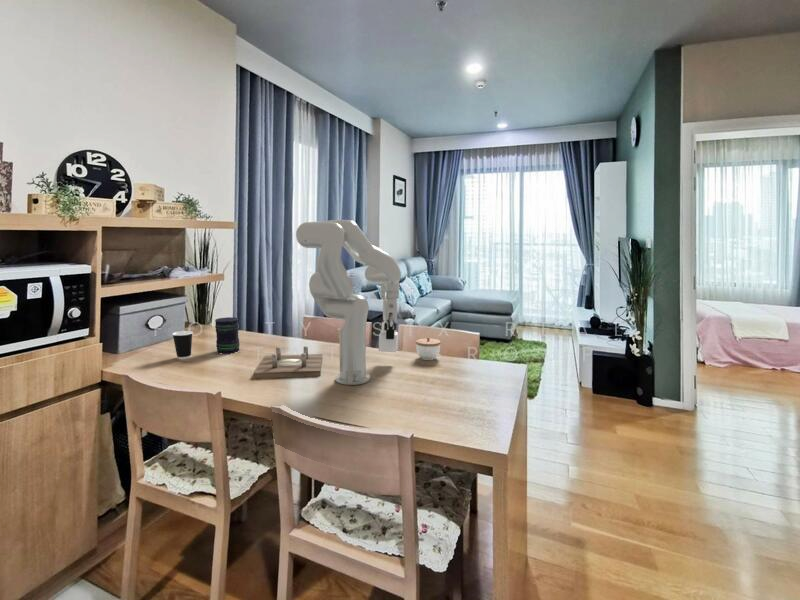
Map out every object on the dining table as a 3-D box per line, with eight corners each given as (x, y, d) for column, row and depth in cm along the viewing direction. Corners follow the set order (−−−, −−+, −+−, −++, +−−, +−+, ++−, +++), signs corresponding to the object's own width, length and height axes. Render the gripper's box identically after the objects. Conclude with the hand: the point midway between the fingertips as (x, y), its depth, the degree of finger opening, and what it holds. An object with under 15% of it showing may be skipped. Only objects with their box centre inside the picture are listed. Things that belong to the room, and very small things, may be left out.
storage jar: (217, 349, 196) (216, 317, 194) (240, 348, 199) (239, 316, 197) (215, 354, 187) (213, 321, 185) (239, 353, 189) (237, 320, 187)
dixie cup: (198, 356, 184) (197, 331, 182) (182, 361, 176) (181, 335, 175) (185, 354, 187) (183, 330, 185) (169, 359, 180) (167, 333, 178)
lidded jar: (413, 360, 180) (413, 339, 179) (418, 354, 191) (418, 334, 190) (438, 362, 178) (438, 340, 177) (441, 356, 188) (442, 335, 187)
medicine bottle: (397, 348, 178) (398, 320, 177) (395, 352, 171) (396, 323, 170) (381, 347, 179) (381, 319, 178) (378, 351, 172) (379, 322, 171)
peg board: (320, 375, 159) (320, 357, 158) (254, 378, 155) (253, 359, 154) (322, 358, 182) (322, 342, 181) (265, 360, 179) (264, 344, 178)
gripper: (401, 297, 165) (400, 341, 167) (395, 293, 182) (394, 332, 184) (382, 297, 163) (381, 341, 165) (378, 292, 181) (377, 332, 183)
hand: (388, 336), depth 175 cm, fingers closed on medicine bottle, 8 cm apart
